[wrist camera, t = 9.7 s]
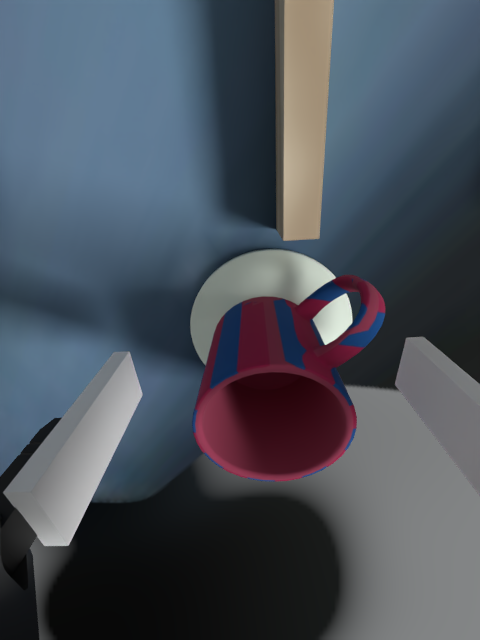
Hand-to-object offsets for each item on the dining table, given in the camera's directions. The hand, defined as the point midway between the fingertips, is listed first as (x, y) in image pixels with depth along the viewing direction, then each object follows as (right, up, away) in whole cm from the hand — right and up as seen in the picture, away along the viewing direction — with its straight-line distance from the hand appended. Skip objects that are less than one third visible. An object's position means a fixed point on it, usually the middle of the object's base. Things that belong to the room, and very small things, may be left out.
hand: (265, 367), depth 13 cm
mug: (+1, +2, +4) cm, 4 cm away
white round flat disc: (+1, +2, +4) cm, 5 cm away
